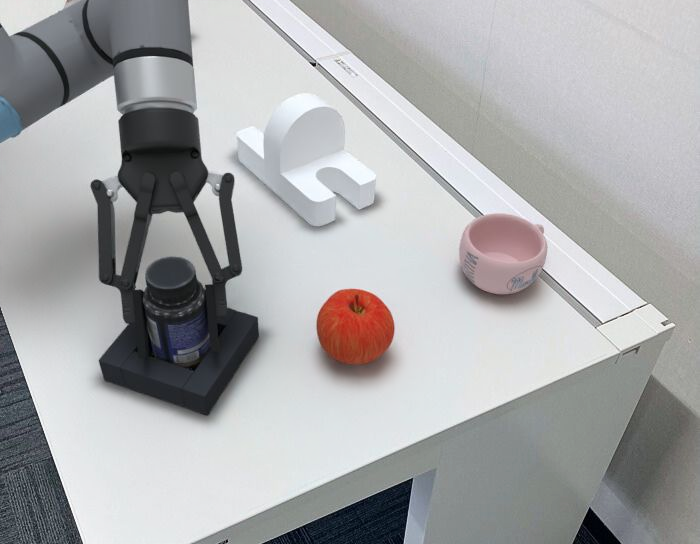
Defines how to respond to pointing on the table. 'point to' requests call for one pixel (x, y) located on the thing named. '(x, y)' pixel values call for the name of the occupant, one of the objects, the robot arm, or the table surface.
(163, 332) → the pill bottle
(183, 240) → the table surface
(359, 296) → the apple
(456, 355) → the table surface
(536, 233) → the mug
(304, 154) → the bracket
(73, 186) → the table surface
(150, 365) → the socket pad
